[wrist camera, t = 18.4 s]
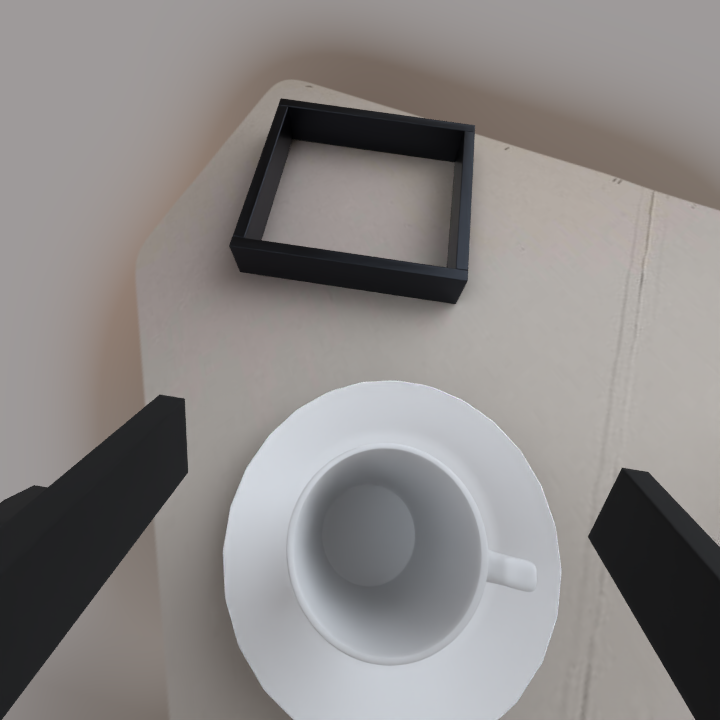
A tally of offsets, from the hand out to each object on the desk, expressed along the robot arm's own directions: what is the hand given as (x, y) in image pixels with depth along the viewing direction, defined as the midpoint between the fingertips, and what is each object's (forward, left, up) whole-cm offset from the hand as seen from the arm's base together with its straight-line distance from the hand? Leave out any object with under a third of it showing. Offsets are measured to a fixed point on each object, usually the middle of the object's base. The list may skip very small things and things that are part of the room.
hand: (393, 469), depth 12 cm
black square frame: (-4, +26, -16) cm, 31 cm away
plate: (+2, -2, -17) cm, 17 cm away
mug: (+2, -2, -14) cm, 15 cm away
